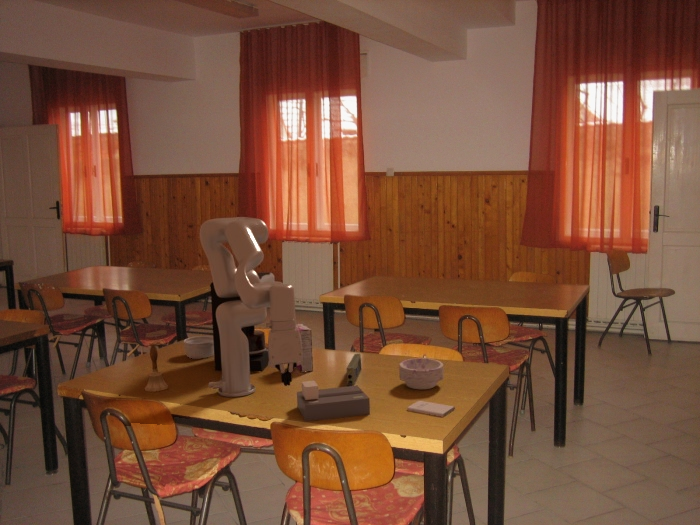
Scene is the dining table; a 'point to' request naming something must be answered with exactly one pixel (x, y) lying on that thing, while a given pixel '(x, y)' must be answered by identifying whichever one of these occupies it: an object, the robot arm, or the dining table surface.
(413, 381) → the pale lavender bowl
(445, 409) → the external hard drive
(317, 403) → the switch panel
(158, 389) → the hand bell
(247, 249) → the robot arm
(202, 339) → the ramekin
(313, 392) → the knob
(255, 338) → the coffee maker
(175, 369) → the dining table surface
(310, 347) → the candy bar box
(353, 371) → the handheld radio
